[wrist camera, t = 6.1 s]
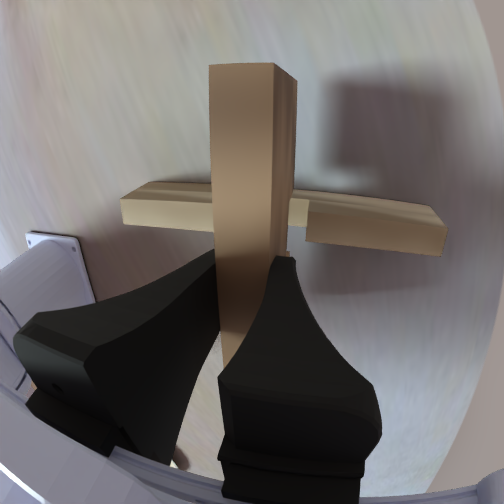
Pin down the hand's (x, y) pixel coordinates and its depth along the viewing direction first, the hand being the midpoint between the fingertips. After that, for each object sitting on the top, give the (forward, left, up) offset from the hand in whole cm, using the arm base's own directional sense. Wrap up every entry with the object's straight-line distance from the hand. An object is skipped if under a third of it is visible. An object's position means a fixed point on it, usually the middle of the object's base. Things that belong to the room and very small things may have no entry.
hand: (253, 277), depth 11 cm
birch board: (0, 0, -8) cm, 8 cm away
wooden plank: (0, 0, -6) cm, 6 cm away
